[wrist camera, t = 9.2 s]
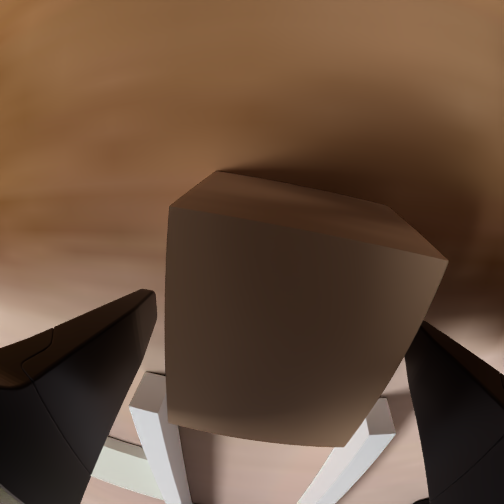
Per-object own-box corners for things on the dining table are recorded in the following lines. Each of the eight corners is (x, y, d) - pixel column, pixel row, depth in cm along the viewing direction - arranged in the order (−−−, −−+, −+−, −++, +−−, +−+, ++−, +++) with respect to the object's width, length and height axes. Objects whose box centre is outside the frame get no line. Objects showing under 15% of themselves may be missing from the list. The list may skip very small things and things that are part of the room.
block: (385, 204, 8) (448, 260, 5) (331, 358, 11) (343, 447, 7) (217, 170, 9) (169, 206, 5) (198, 336, 11) (168, 422, 7)
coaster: (158, 452, 15) (155, 462, 14) (172, 494, 18) (170, 501, 17) (51, 413, 15) (46, 421, 14) (85, 465, 18) (81, 472, 18)
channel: (386, 398, 11) (396, 433, 10) (299, 517, 18) (299, 535, 17) (145, 371, 12) (128, 405, 10) (179, 503, 19) (174, 521, 17)
